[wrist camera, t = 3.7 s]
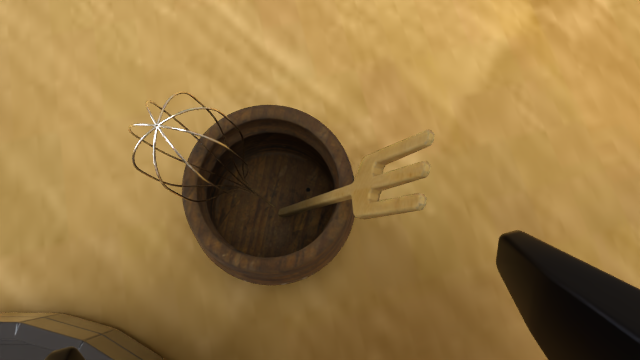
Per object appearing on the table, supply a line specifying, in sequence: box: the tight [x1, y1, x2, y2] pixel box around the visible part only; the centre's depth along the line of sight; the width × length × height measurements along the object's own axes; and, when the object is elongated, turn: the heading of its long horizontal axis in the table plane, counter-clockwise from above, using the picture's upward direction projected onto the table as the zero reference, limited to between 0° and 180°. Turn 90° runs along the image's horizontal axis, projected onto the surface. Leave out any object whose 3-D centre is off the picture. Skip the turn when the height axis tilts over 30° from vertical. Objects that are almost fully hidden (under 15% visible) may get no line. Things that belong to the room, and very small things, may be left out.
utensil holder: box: [128, 92, 434, 285], centre depth 14 cm, size 6×6×12 cm
